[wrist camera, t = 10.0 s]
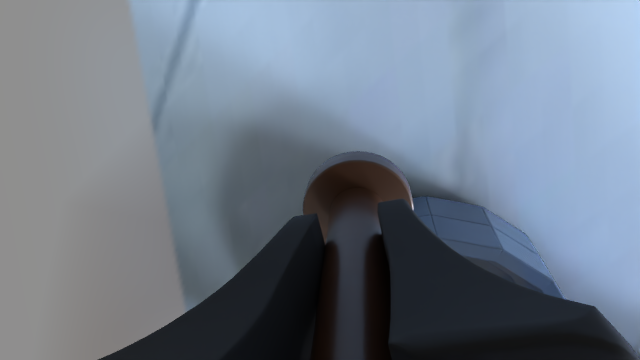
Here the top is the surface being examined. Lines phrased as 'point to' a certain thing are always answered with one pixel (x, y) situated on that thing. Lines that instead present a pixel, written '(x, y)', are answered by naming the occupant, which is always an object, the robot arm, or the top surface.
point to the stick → (353, 255)
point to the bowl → (487, 242)
